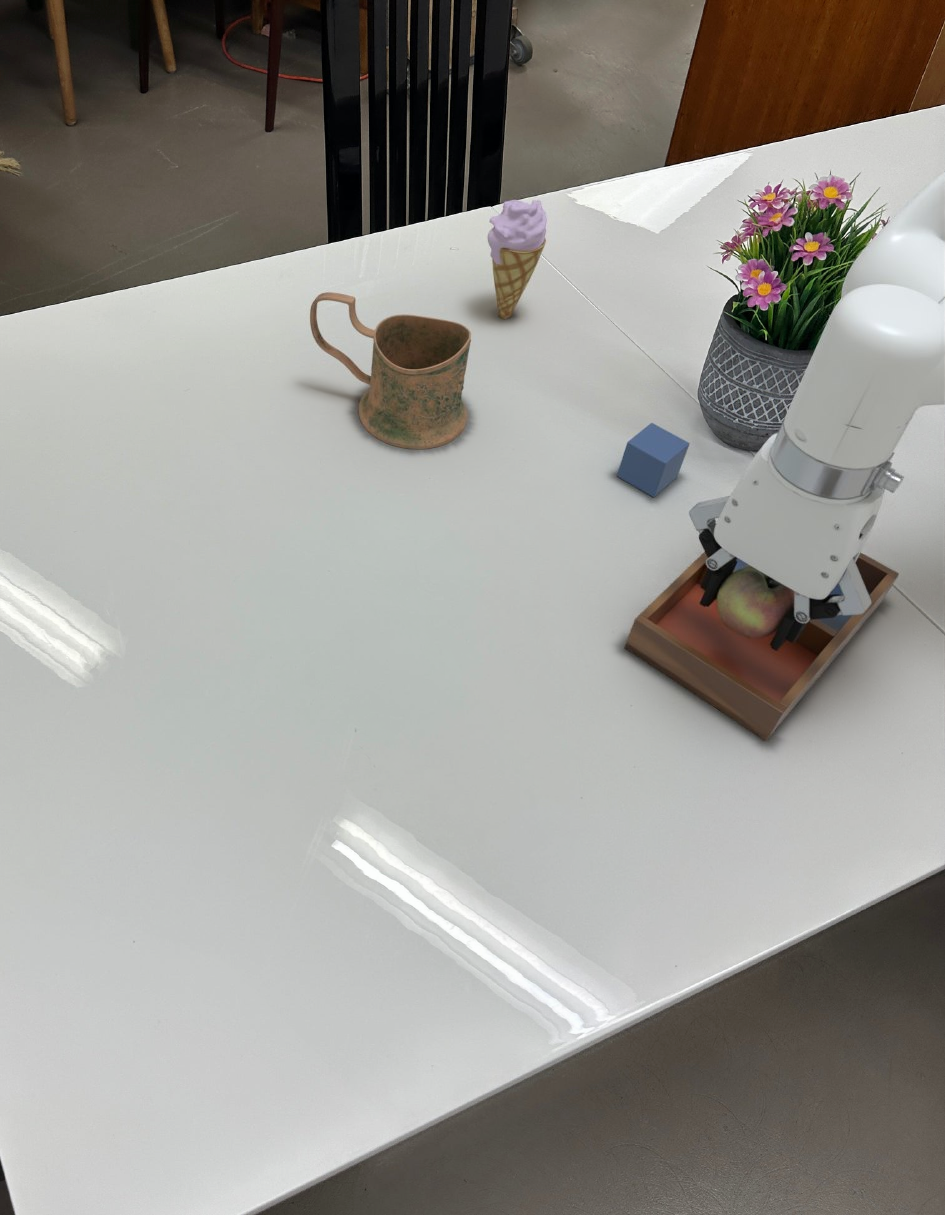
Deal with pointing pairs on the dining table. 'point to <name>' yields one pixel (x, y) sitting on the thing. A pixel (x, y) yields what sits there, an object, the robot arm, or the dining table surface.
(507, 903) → the dining table surface
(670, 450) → the blue block
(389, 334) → the mug
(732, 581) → the apple
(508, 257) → the ice cream cone
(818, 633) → the sorting tray
